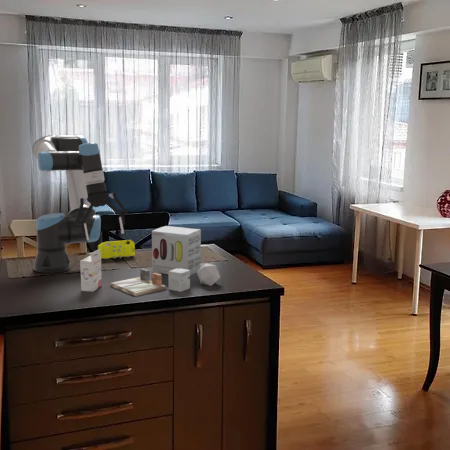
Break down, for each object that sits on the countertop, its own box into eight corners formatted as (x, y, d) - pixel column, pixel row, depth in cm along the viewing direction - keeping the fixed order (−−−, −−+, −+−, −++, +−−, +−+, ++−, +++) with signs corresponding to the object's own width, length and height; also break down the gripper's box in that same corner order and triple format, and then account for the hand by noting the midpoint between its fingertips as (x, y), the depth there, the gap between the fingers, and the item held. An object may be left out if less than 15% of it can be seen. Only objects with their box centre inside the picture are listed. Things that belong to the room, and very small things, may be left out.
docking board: (110, 285, 226) (110, 272, 225) (140, 279, 235) (140, 267, 234) (135, 296, 213) (135, 282, 212) (166, 289, 223) (166, 275, 222)
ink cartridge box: (90, 284, 227) (89, 247, 224) (102, 285, 226) (101, 248, 223) (80, 291, 219) (79, 252, 216) (92, 292, 218) (91, 253, 215)
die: (224, 285, 231) (218, 263, 235) (217, 279, 223) (212, 257, 227) (204, 291, 232) (199, 269, 236) (197, 286, 225) (192, 263, 228)
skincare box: (181, 292, 219) (181, 273, 218) (168, 289, 222) (168, 270, 221) (190, 288, 224) (190, 269, 223) (177, 285, 227) (177, 267, 226)
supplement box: (150, 272, 245) (150, 230, 242) (165, 265, 258) (165, 225, 254) (188, 277, 239) (188, 234, 236) (201, 270, 251) (201, 228, 248)
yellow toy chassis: (101, 260, 266) (100, 242, 264) (98, 257, 271) (97, 240, 269) (135, 257, 273) (135, 239, 271) (131, 254, 278) (131, 237, 276)
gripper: (62, 188, 220) (73, 243, 222) (128, 177, 226) (138, 231, 228) (62, 188, 227) (73, 242, 229) (126, 178, 233) (136, 230, 235)
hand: (105, 236), depth 228 cm, fingers open, 13 cm apart
